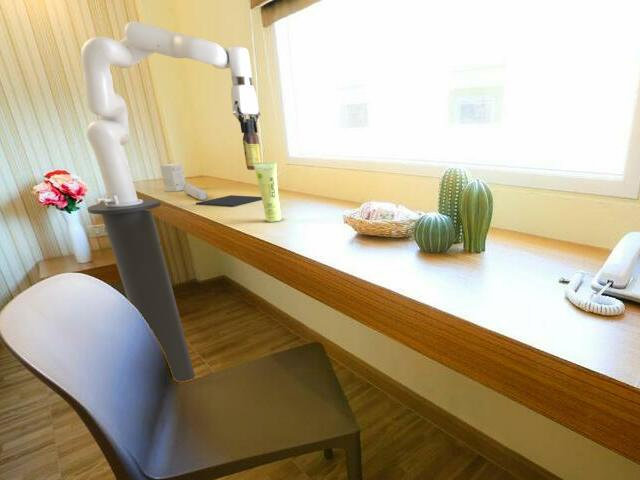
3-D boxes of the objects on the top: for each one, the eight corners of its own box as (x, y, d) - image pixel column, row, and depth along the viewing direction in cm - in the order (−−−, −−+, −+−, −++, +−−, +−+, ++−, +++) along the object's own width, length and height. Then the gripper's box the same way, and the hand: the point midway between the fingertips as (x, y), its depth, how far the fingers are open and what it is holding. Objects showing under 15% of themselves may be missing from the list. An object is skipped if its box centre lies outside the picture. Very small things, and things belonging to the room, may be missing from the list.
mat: (232, 206, 160) (232, 205, 159) (195, 204, 166) (195, 202, 166) (265, 198, 177) (265, 197, 177) (231, 196, 184) (230, 195, 183)
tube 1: (209, 190, 175) (195, 184, 193) (196, 188, 171) (183, 182, 189) (207, 202, 176) (194, 195, 194) (194, 200, 172) (182, 193, 190)
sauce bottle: (249, 169, 168) (243, 119, 161) (264, 169, 168) (258, 119, 162) (244, 170, 162) (237, 118, 155) (259, 170, 162) (253, 118, 155)
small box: (177, 189, 210) (171, 163, 205) (187, 189, 208) (182, 163, 204) (165, 191, 202) (159, 165, 197) (176, 191, 201) (170, 165, 196)
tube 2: (268, 223, 131) (259, 162, 124) (261, 221, 134) (252, 161, 127) (284, 220, 135) (276, 161, 127) (277, 218, 138) (269, 160, 131)
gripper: (250, 85, 162) (256, 132, 169) (218, 81, 147) (226, 133, 154) (265, 84, 159) (270, 132, 166) (234, 80, 145) (242, 133, 151)
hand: (249, 132), depth 160 cm, fingers closed on sauce bottle, 4 cm apart
